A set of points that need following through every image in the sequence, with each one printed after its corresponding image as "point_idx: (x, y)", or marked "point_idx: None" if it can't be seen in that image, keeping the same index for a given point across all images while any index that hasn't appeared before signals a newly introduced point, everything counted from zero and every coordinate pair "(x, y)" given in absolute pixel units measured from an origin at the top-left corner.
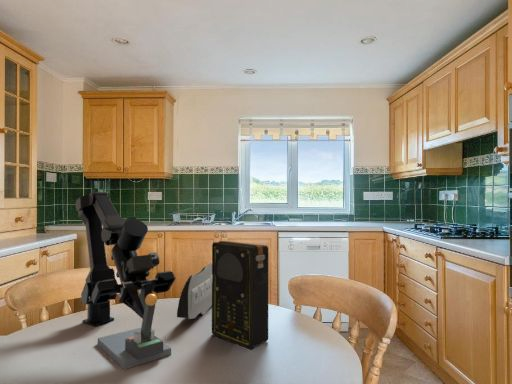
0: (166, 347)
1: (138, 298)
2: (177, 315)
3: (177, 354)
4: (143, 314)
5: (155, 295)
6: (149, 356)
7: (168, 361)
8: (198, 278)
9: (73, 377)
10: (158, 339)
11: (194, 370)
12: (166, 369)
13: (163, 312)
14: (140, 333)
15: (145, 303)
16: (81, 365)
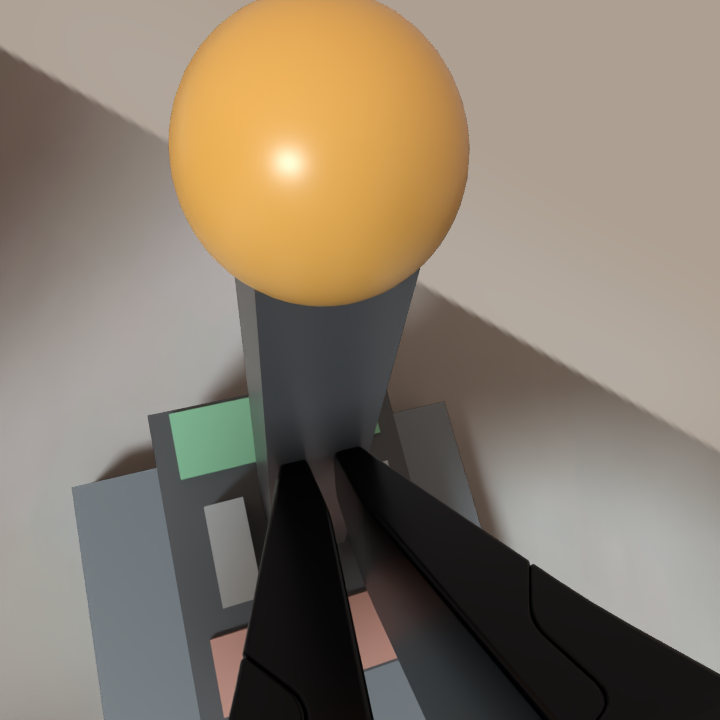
0: (105, 514)
1: (545, 670)
2: None
3: (39, 468)
4: (371, 456)
5: (222, 30)
6: None
7: (145, 385)
8: None
9: (677, 449)
10: (179, 463)
11: (41, 184)
12: (195, 283)
13: None
14: (345, 531)
15: (409, 302)
16: (662, 598)
